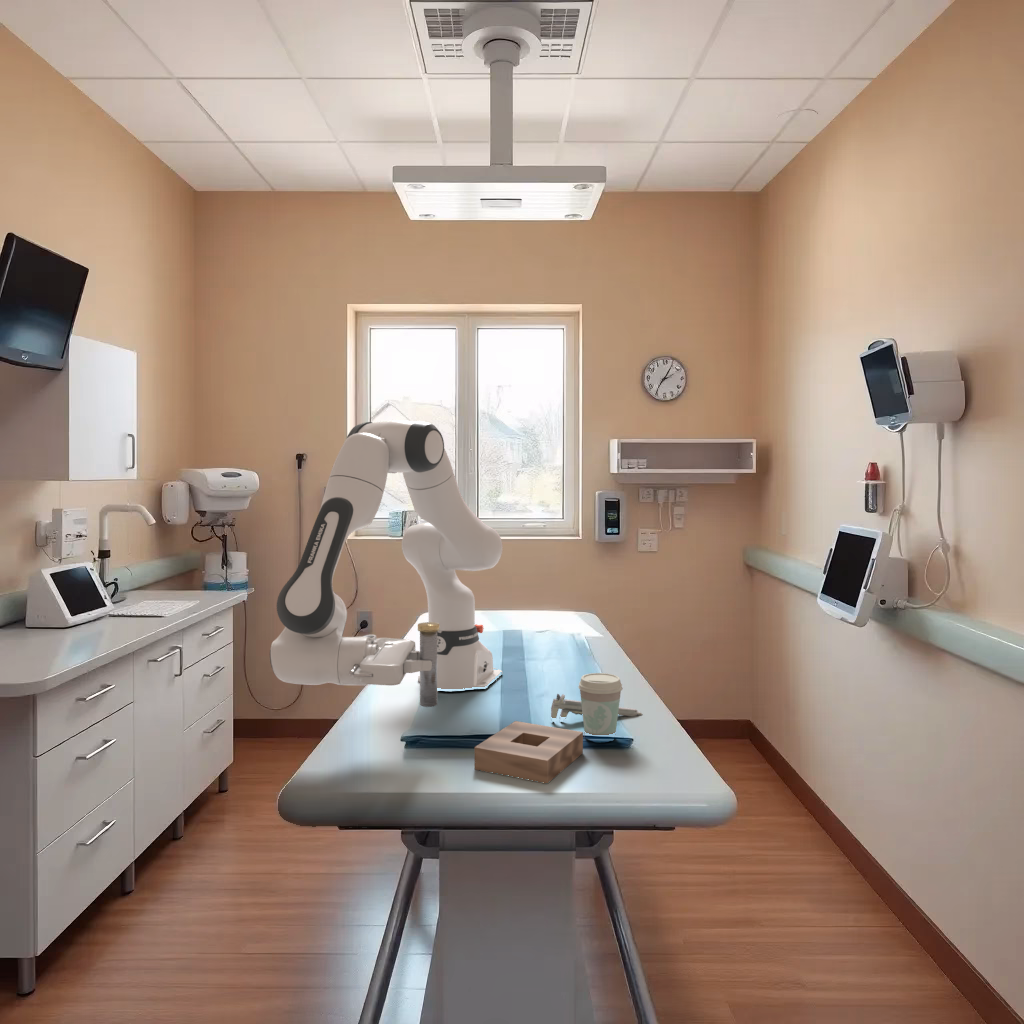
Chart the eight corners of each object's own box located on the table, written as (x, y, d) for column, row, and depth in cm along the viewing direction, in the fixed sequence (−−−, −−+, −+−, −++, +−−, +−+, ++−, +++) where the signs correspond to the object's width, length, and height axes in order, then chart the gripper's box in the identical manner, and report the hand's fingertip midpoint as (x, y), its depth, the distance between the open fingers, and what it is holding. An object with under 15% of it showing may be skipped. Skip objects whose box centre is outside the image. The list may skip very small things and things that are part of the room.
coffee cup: (569, 738, 159) (569, 677, 159) (596, 728, 165) (597, 669, 165) (603, 749, 153) (604, 686, 153) (630, 738, 159) (631, 677, 159)
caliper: (552, 725, 168) (552, 695, 168) (550, 723, 169) (551, 693, 169) (642, 716, 174) (643, 687, 174) (640, 714, 175) (640, 685, 175)
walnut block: (515, 741, 158) (515, 721, 157) (582, 753, 151) (582, 732, 151) (474, 769, 143) (474, 747, 143) (547, 783, 137) (547, 760, 137)
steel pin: (425, 700, 154) (424, 621, 153) (443, 702, 153) (443, 623, 152) (413, 705, 151) (413, 625, 150) (432, 708, 149) (432, 627, 148)
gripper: (346, 658, 141) (426, 658, 141) (369, 632, 161) (439, 633, 161) (346, 694, 141) (426, 694, 141) (369, 664, 162) (439, 664, 161)
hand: (433, 661), depth 151 cm, fingers closed on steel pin, 3 cm apart
